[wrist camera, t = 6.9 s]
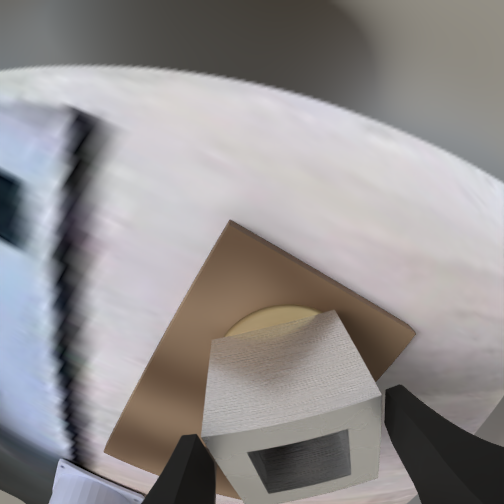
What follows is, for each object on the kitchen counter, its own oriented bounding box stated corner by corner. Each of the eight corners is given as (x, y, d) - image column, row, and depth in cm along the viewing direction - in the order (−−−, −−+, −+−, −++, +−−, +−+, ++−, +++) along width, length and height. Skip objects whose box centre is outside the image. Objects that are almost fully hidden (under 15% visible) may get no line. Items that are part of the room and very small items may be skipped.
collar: (345, 395, 15) (377, 477, 10) (244, 420, 15) (247, 507, 10) (334, 309, 13) (381, 394, 8) (212, 339, 13) (200, 436, 8)
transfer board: (241, 490, 20) (243, 547, 15) (107, 442, 18) (86, 502, 12) (408, 324, 16) (460, 387, 10) (229, 219, 13) (224, 265, 8)
